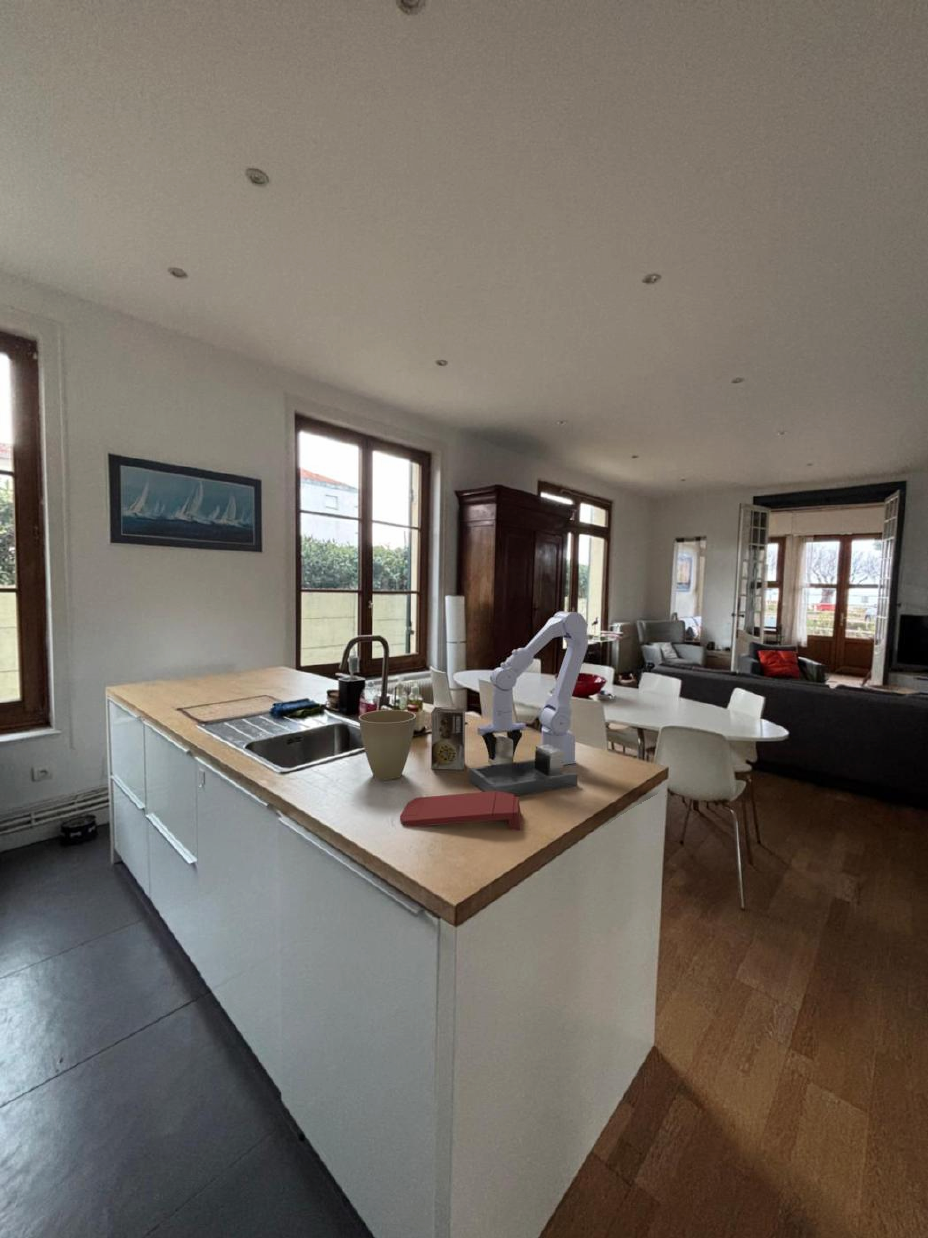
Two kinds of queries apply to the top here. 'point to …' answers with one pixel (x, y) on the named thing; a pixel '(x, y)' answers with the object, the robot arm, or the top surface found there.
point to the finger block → (502, 750)
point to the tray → (525, 774)
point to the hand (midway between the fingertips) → (501, 757)
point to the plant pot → (387, 741)
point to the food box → (448, 738)
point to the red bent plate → (462, 809)
